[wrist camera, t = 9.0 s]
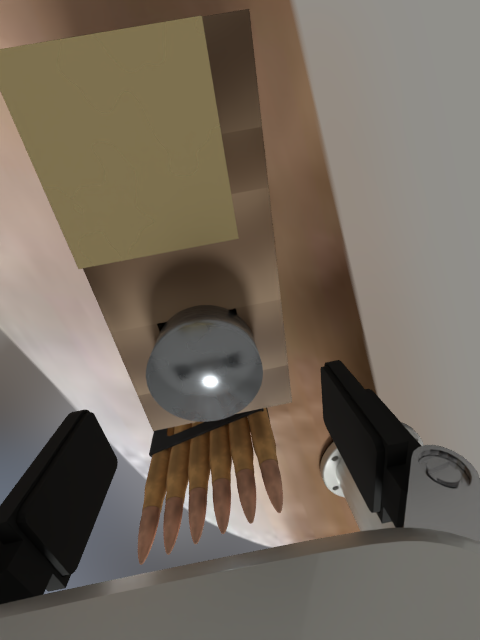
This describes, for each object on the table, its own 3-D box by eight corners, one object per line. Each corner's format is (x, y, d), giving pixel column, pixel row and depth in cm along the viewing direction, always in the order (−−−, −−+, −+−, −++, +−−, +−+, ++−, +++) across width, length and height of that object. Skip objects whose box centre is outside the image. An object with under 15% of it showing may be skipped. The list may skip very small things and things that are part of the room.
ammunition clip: (255, 369, 25) (289, 497, 14) (262, 383, 26) (300, 514, 15) (157, 411, 26) (117, 563, 15) (167, 423, 26) (135, 576, 15)
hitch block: (267, 342, 24) (292, 402, 16) (171, 361, 23) (153, 431, 16) (232, 99, 16) (249, 8, 9) (91, 123, 16) (-11, 52, 9)
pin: (235, 267, 19) (254, 314, 11) (246, 329, 22) (269, 409, 13) (165, 280, 19) (128, 339, 11) (183, 341, 22) (165, 431, 13)
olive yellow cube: (229, 228, 12) (238, 238, 8) (125, 247, 12) (78, 269, 8) (205, 96, 10) (201, 15, 6) (80, 118, 10) (-17, 52, 6)
